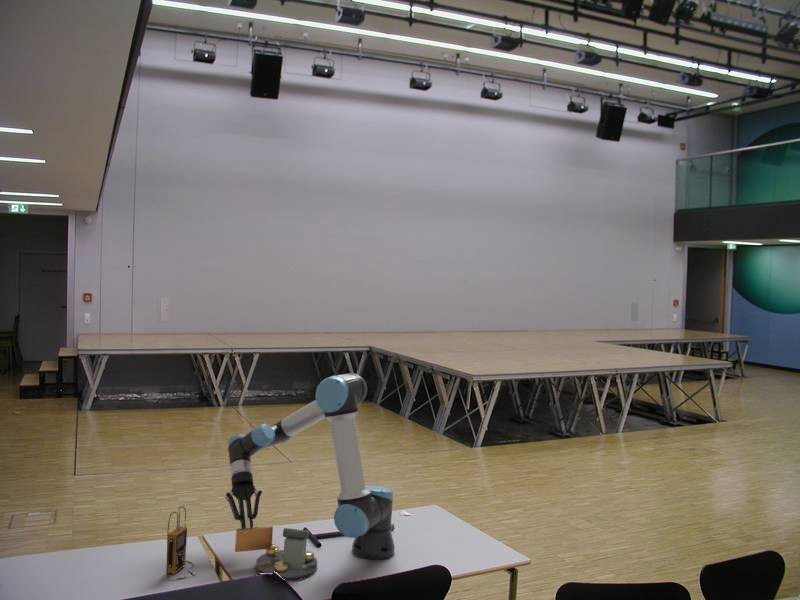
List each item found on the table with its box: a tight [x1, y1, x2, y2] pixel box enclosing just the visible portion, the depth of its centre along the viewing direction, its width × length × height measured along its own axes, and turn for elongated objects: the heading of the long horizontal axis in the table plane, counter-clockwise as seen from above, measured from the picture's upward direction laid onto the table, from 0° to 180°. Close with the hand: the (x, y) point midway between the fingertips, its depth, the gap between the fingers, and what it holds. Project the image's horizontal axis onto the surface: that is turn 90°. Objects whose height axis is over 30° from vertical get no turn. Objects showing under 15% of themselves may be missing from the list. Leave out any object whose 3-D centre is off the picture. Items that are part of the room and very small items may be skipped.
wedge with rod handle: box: [282, 527, 310, 570], centre depth 230 cm, size 8×6×12 cm
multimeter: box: [166, 506, 188, 578], centre depth 225 cm, size 15×10×20 cm
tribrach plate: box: [255, 549, 318, 582], centre depth 233 cm, size 20×20×4 cm
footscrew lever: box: [234, 525, 280, 557], centre depth 235 cm, size 15×4×10 cm, turn 114°
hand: (248, 537), depth 239 cm, fingers closed
